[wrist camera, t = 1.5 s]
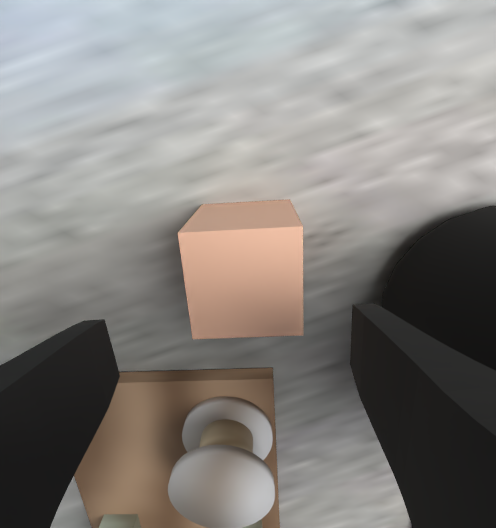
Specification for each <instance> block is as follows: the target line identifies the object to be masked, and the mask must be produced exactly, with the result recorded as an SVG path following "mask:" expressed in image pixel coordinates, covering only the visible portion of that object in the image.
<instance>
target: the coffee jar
mask: <svg viewBox="0 0 496 528" xmlns="http://www.w3.org/2000/svg"><path fill="white" fill-rule="evenodd" d="M382 308H384V309H386V310H388V311H389V312H391V313H393V314H394V315H396V316H397V317H399V318H401V319H402V320H404V321H406V322H407V323H409V324H411V325H412V326H414V327H415V328H417V329H419V330H420V331H422V332H424V333H426V334H427V335H429V336H431V337H432V338H434V339H436V340H438V341H439V342H441V343H443V344H445V345H447V346H448V347H450V348H452V349H454V350H456V351H458V352H460V353H462V354H463V355H465V356H467V357H469V358H471V359H473V360H475V361H477V362H479V363H481V364H483V365H485V366H487V367H489V368H491V369H493V370H496V206H489V207H485V208H482V209H479V210H476V211H473V212H470V213H467V214H464V215H461V216H458V217H455V218H452V219H449V220H447V221H446V222H444V223H443V224H441V225H440V226H438V227H437V228H435V229H434V230H432V231H431V232H429V233H428V234H426V235H425V236H423V237H422V238H420V239H419V240H418V241H417V242H416V243H415V244H414V245H413V246H412V247H411V249H410V250H409V251H408V252H407V253H406V254H405V255H404V256H403V258H402V259H401V260H400V261H399V262H398V263H397V264H396V266H395V268H394V270H393V273H392V275H391V277H390V279H389V281H388V283H387V286H386V288H385V290H384V292H383V300H382Z"/></svg>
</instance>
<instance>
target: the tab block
mask: <svg viewBox="0 0 496 528" xmlns="http://www.w3.org/2000/svg"><path fill="white" fill-rule="evenodd" d="M178 239H179V246H180V253H181V260H182V267H183V274H184V282H185V289H186V296H187V303H188V310H189V317H190V324H191V332H192V339H214V338H243V337H272V336H301V335H303V226H302V223H301V221H300V219H299V217H298V215H297V213H296V211H295V209H294V207H293V205H292V203H291V201H290V200H273V201H255V202H237V203H219V204H202V205H201V206H200V207H199V209H198V210H197V211H196V212H195V213H194V214H193V216H192V217H191V218H190V219H189V220H188V221H187V223H186V224H185V225H184V226H183V227H182V228H181V230H180V231H179V232H178Z"/></svg>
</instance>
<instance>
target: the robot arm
mask: <svg viewBox="0 0 496 528" xmlns="http://www.w3.org/2000/svg"><path fill="white" fill-rule="evenodd" d="M350 365H351V368H352V372H353V376H354V379H355V383H356V386H357V389H358V392H359V396H360V398H361V401H362V403H363V405H364V408H365V410H366V412H367V415H368V417H369V419H370V422H371V424H372V426H373V428H374V431H375V433H376V435H377V437H378V440H379V442H380V444H381V446H382V449H383V451H384V453H385V456H386V458H387V460H388V462H389V465H390V467H391V469H392V471H393V474H394V476H395V479H396V481H397V484H398V486H399V489H400V491H401V494H402V497H403V500H404V503H405V506H406V508H407V511H408V514H409V517H410V520H411V523H412V526H413V528H496V370H493V369H491V368H489V367H487V366H485V365H483V364H481V363H479V362H477V361H475V360H473V359H471V358H469V357H467V356H465V355H463V354H462V353H460V352H458V351H456V350H454V349H452V348H450V347H448V346H447V345H445V344H443V343H441V342H439V341H438V340H436V339H434V338H432V337H431V336H429V335H427V334H426V333H424V332H422V331H420V330H419V329H417V328H415V327H414V326H412V325H411V324H409V323H407V322H406V321H404V320H402V319H401V318H399V317H397V316H396V315H394V314H393V313H391V312H389V311H388V310H386V309H384V308H382V307H381V306H379V305H377V304H375V303H374V304H357V305H353V308H352V334H351V359H350ZM119 377H120V375H119V371H118V367H117V364H116V360H115V356H114V353H113V349H112V345H111V342H110V338H109V334H108V331H107V327H106V323H105V320H88V321H83V322H80V323H78V324H76V325H73V326H71V327H69V328H68V329H66V330H64V331H62V332H60V333H58V334H56V335H54V336H53V337H51V338H49V339H47V340H46V341H44V342H42V343H40V344H38V345H37V346H35V347H33V348H31V349H30V350H28V351H26V352H24V353H22V354H21V355H19V356H17V357H15V358H14V359H12V360H10V361H8V362H6V363H4V364H2V365H1V366H0V528H50V526H51V524H52V521H53V519H54V516H55V514H56V511H57V509H58V507H59V504H60V502H61V500H62V498H63V496H64V494H65V492H66V490H67V488H68V486H69V484H70V482H71V480H72V478H73V476H74V474H75V472H76V470H77V468H78V466H79V464H80V463H81V461H82V459H83V457H84V455H85V453H86V451H87V449H88V447H89V445H90V443H91V442H92V440H93V438H94V436H95V434H96V432H97V430H98V428H99V426H100V424H101V422H102V420H103V418H104V416H105V414H106V412H107V410H108V408H109V405H110V403H111V400H112V397H113V395H114V392H115V389H116V386H117V383H118V380H119Z"/></svg>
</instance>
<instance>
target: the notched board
mask: <svg viewBox="0 0 496 528" xmlns="http://www.w3.org/2000/svg"><path fill="white" fill-rule="evenodd" d="M119 375H120V377H119V380H118V383H117V386H116V389H115V392H114V395H113V397H112V400H111V403H110V405H109V408H108V410H107V412H106V414H105V416H104V418H103V420H102V422H101V424H100V426H99V428H98V430H97V432H96V434H95V436H94V438H93V440H92V442H91V443H90V445H89V447H88V449H87V451H86V453H85V455H84V457H83V459H82V461H81V463H80V464H79V466H78V468H77V470H76V472H75V474H74V477H75V480H76V483H77V485H78V488H79V491H80V494H81V497H82V500H83V503H84V506H85V509H86V512H87V515H88V517H89V520H90V523H91V526H92V528H280V523H279V500H278V477H277V454H276V431H275V408H274V385H273V368H248V369H214V370H181V371H147V372H119Z"/></svg>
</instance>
